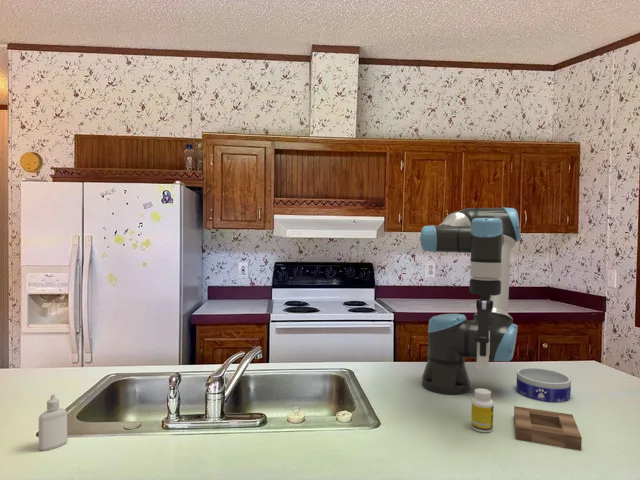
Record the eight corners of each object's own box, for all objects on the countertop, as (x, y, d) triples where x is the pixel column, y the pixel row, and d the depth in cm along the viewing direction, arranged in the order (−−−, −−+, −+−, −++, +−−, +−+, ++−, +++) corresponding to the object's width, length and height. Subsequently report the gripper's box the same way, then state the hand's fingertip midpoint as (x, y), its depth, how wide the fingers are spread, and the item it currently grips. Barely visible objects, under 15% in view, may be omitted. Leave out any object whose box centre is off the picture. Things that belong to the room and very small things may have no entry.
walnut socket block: (514, 416, 123) (514, 406, 123) (572, 425, 118) (572, 414, 118) (516, 439, 110) (516, 427, 110) (581, 450, 105) (581, 437, 105)
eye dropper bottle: (65, 448, 103) (64, 396, 103) (36, 452, 101) (36, 399, 101) (68, 439, 107) (68, 390, 107) (41, 443, 105) (41, 392, 105)
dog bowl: (569, 390, 144) (570, 371, 144) (571, 407, 131) (572, 386, 131) (518, 382, 151) (518, 364, 151) (514, 397, 138) (515, 377, 138)
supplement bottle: (494, 434, 113) (495, 395, 112) (472, 432, 114) (473, 393, 113) (491, 425, 118) (491, 388, 118) (469, 422, 119) (470, 386, 119)
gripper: (472, 273, 128) (470, 347, 128) (466, 282, 104) (464, 373, 105) (500, 274, 125) (498, 350, 125) (501, 284, 102) (499, 377, 102)
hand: (483, 361), depth 115 cm, fingers open, 13 cm apart
